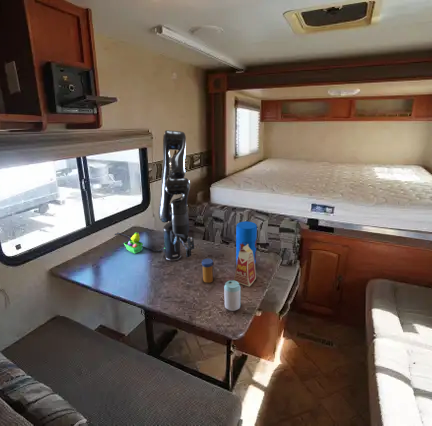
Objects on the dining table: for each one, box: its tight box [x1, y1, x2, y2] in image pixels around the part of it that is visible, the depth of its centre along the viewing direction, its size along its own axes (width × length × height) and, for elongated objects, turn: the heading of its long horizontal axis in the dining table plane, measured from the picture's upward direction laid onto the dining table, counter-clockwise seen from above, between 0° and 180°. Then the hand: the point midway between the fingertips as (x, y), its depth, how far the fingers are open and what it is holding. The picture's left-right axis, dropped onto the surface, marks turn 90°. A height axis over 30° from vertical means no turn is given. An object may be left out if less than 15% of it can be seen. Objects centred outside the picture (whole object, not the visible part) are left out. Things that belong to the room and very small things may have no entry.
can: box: [223, 279, 242, 312], centre depth 124 cm, size 7×7×12 cm
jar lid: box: [201, 258, 214, 268], centre depth 144 cm, size 6×6×2 cm
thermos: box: [235, 221, 258, 266], centre depth 154 cm, size 11×11×25 cm
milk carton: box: [233, 244, 257, 287], centre depth 143 cm, size 9×9×20 cm
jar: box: [201, 264, 214, 284], centre depth 145 cm, size 5×5×11 cm
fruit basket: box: [123, 232, 144, 255], centre depth 180 cm, size 11×9×11 cm
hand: (182, 253), depth 132 cm, fingers open, 8 cm apart
